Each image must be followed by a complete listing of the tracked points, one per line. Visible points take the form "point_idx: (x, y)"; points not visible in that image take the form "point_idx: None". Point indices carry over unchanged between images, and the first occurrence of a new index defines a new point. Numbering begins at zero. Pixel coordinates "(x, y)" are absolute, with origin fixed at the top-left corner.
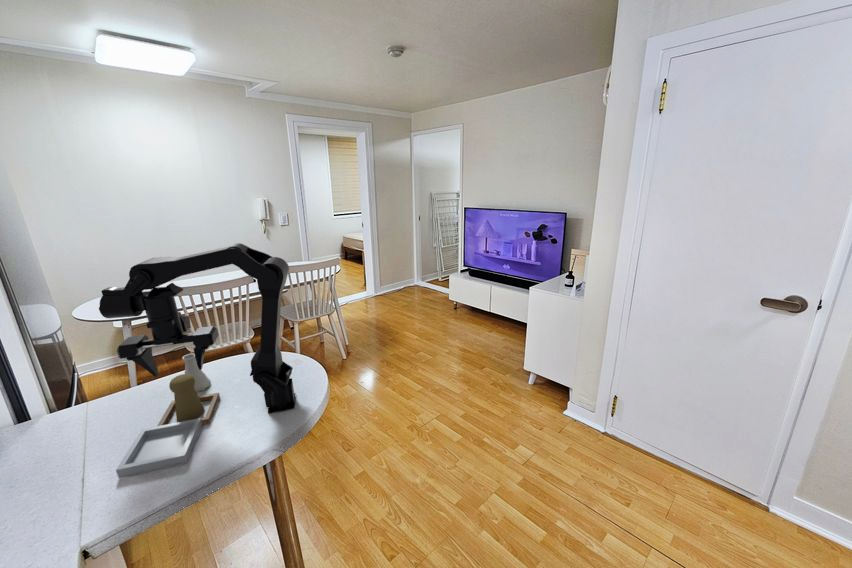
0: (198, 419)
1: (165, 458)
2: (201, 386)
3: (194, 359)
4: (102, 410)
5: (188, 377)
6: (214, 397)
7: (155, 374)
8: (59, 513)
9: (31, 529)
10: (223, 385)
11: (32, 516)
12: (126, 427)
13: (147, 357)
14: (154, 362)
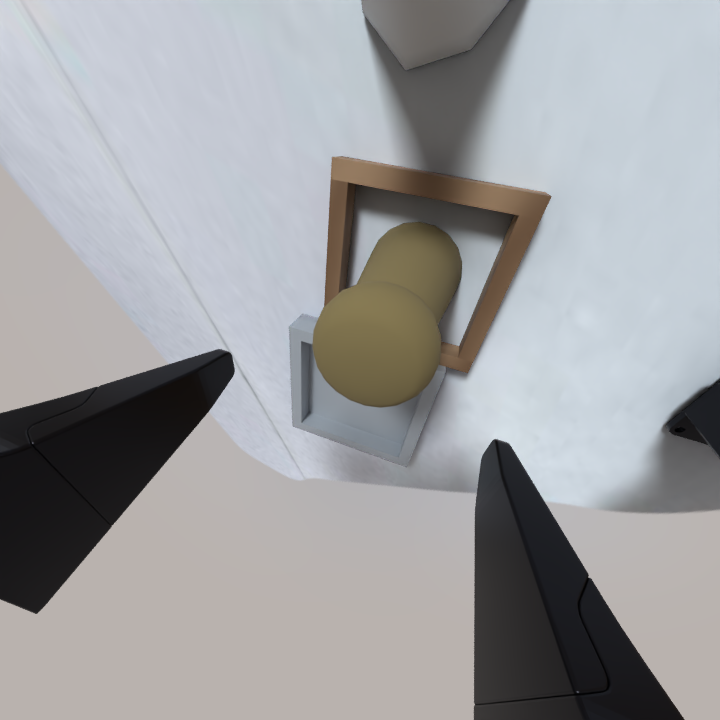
0: (438, 375)
1: (371, 452)
2: (472, 25)
3: None
4: (81, 36)
5: (407, 387)
6: (516, 240)
7: (219, 394)
8: (253, 423)
9: (236, 427)
10: (615, 20)
11: (222, 408)
12: (235, 234)
13: (58, 525)
14: (136, 410)
